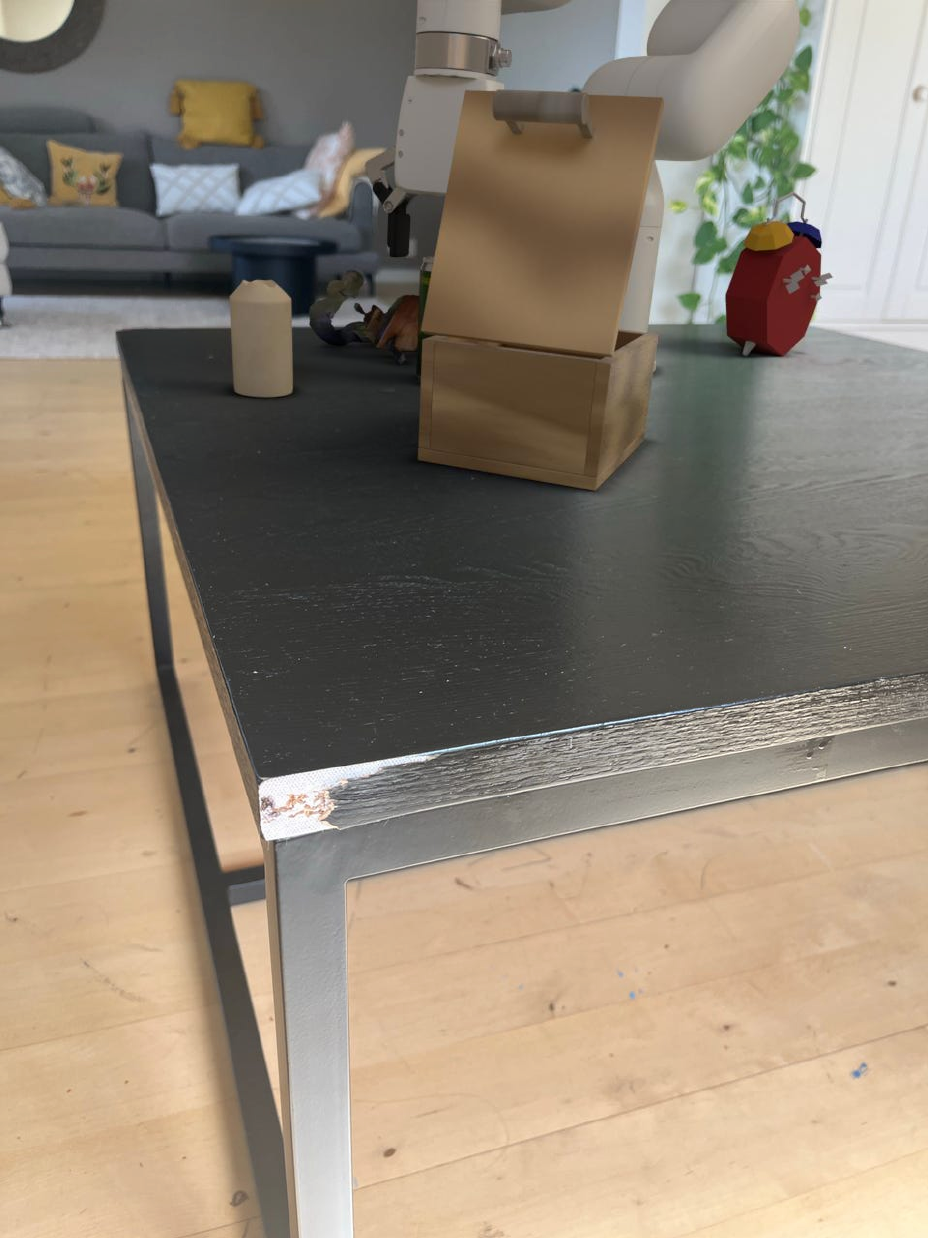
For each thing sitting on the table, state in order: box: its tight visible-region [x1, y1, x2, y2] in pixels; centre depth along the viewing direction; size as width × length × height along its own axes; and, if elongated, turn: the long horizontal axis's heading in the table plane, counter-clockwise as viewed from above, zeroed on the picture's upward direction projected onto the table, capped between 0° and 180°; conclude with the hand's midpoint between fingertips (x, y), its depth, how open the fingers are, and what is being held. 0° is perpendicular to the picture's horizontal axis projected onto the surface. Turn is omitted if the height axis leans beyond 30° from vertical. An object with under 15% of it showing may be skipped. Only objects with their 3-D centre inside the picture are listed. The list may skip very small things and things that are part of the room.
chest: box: [417, 329, 659, 492], centre depth 75 cm, size 16×14×9 cm
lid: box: [421, 89, 665, 358], centre depth 63 cm, size 17×14×5 cm
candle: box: [229, 279, 294, 398], centre depth 88 cm, size 6×6×10 cm
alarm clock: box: [724, 190, 834, 357], centre depth 124 cm, size 15×9×20 cm, turn 136°
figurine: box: [308, 269, 419, 365], centre depth 110 cm, size 15×9×13 cm
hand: (443, 261), depth 94 cm, fingers open, 9 cm apart
